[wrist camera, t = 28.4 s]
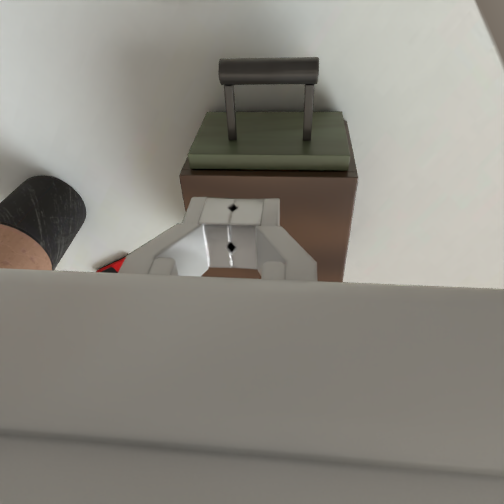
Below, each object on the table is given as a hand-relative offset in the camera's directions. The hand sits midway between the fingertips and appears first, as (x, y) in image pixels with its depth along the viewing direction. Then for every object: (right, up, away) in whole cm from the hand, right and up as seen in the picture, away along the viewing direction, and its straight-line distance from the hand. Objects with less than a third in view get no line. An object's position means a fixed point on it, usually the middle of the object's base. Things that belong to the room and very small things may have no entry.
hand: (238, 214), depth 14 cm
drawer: (+2, +8, +23) cm, 24 cm away
